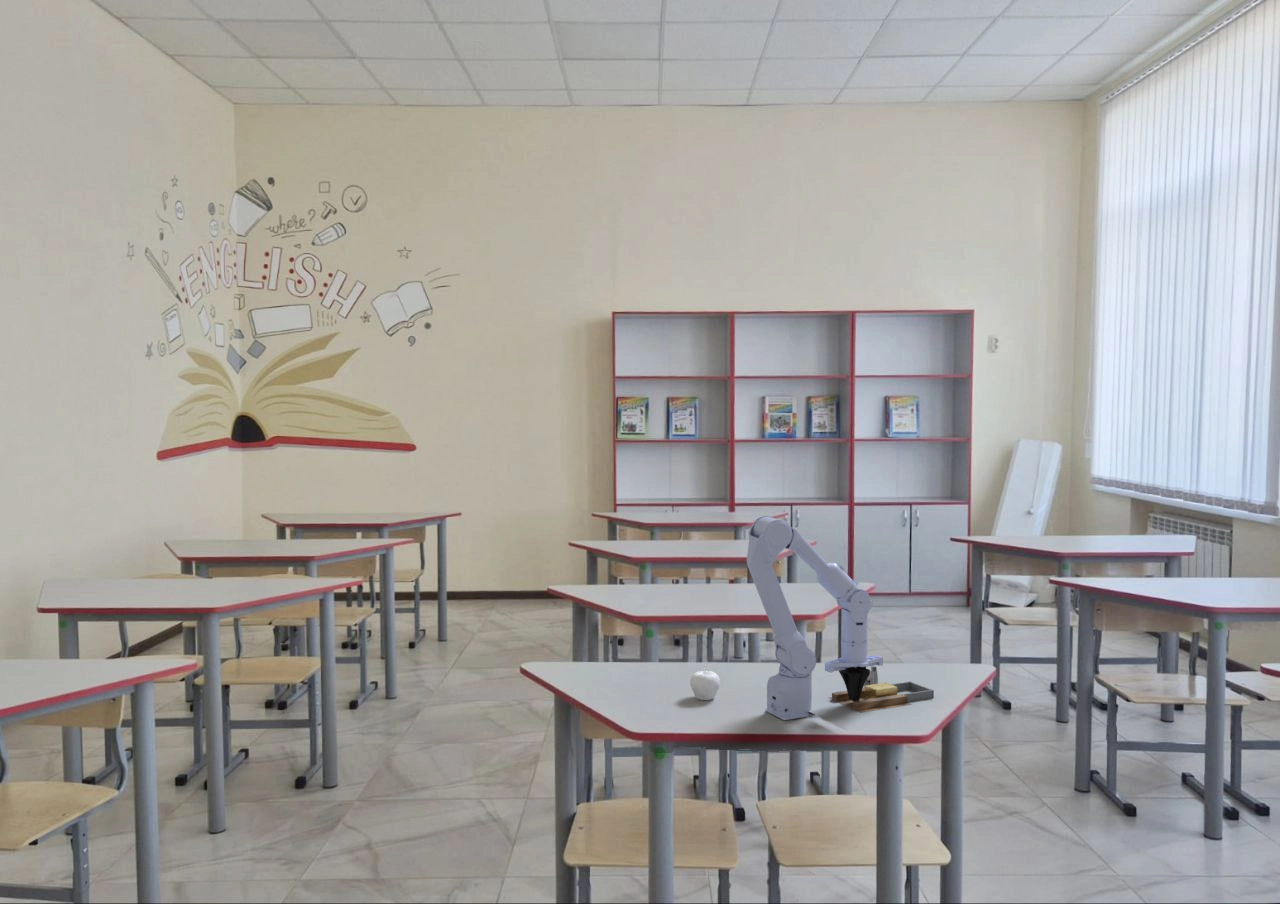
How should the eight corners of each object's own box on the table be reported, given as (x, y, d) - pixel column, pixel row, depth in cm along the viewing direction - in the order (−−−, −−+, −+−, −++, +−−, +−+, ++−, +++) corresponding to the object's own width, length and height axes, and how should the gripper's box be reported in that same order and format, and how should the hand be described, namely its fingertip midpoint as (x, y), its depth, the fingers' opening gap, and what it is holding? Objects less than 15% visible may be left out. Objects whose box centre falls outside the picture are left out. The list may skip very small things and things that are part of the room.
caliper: (878, 694, 223) (878, 668, 222) (873, 694, 223) (873, 668, 222) (857, 671, 243) (857, 647, 243) (853, 671, 243) (853, 647, 243)
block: (875, 703, 211) (875, 690, 210) (864, 698, 214) (864, 685, 214) (897, 700, 213) (897, 686, 213) (885, 695, 217) (885, 682, 217)
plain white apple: (690, 702, 215) (690, 668, 215) (689, 693, 222) (689, 660, 222) (721, 703, 215) (720, 668, 215) (719, 694, 222) (719, 660, 222)
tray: (905, 707, 212) (905, 694, 211) (883, 697, 219) (883, 685, 219) (933, 702, 215) (933, 690, 215) (910, 693, 222) (910, 681, 222)
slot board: (860, 717, 204) (860, 705, 204) (828, 702, 215) (828, 691, 215) (911, 709, 210) (911, 697, 210) (877, 695, 221) (877, 684, 221)
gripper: (838, 647, 203) (838, 709, 204) (891, 640, 209) (891, 700, 210) (819, 640, 210) (819, 700, 210) (871, 634, 216) (871, 692, 216)
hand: (854, 700), depth 210 cm, fingers closed
